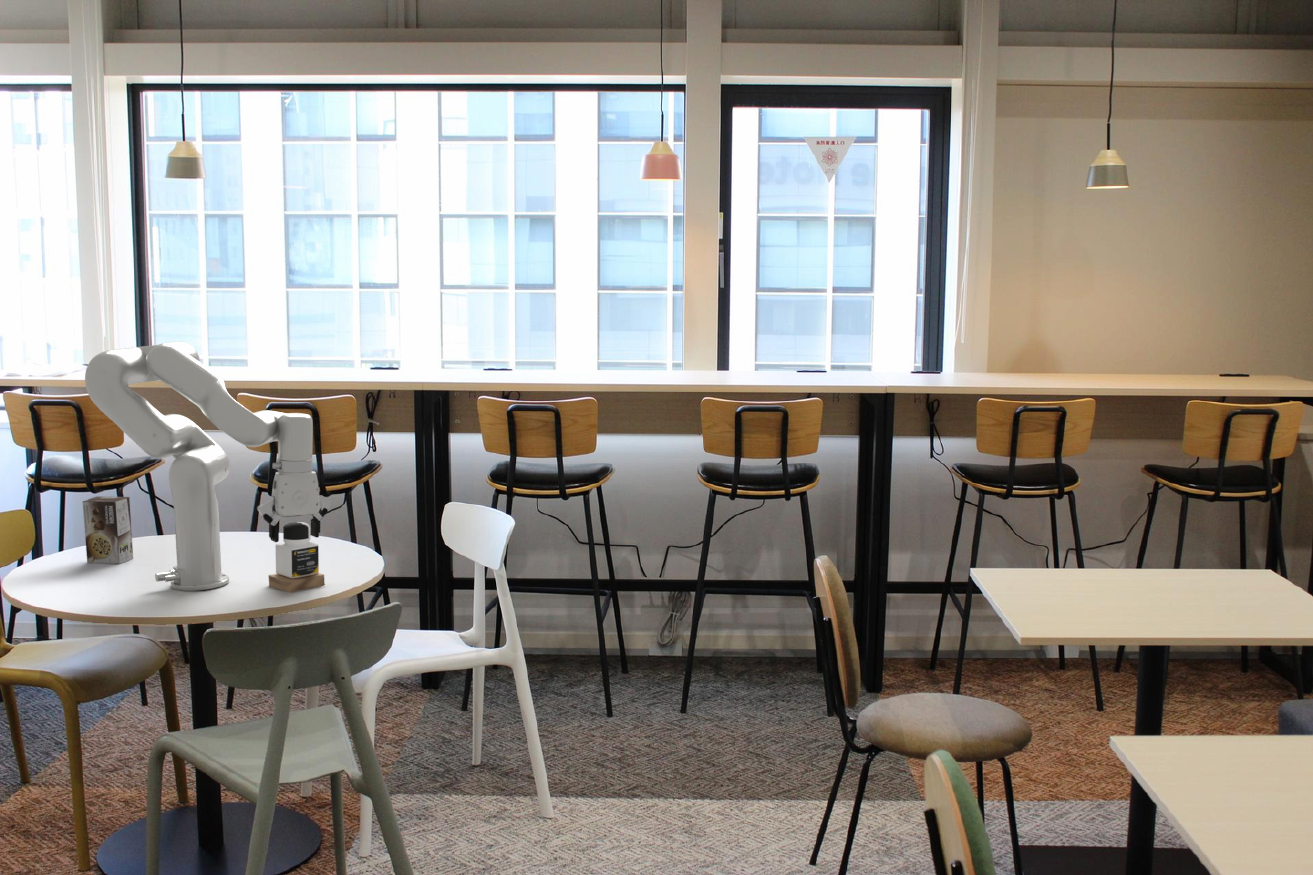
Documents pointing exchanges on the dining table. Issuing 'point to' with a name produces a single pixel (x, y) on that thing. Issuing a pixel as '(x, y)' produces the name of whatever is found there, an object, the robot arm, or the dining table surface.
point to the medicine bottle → (297, 552)
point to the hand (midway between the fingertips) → (294, 538)
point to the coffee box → (108, 529)
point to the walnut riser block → (295, 582)
